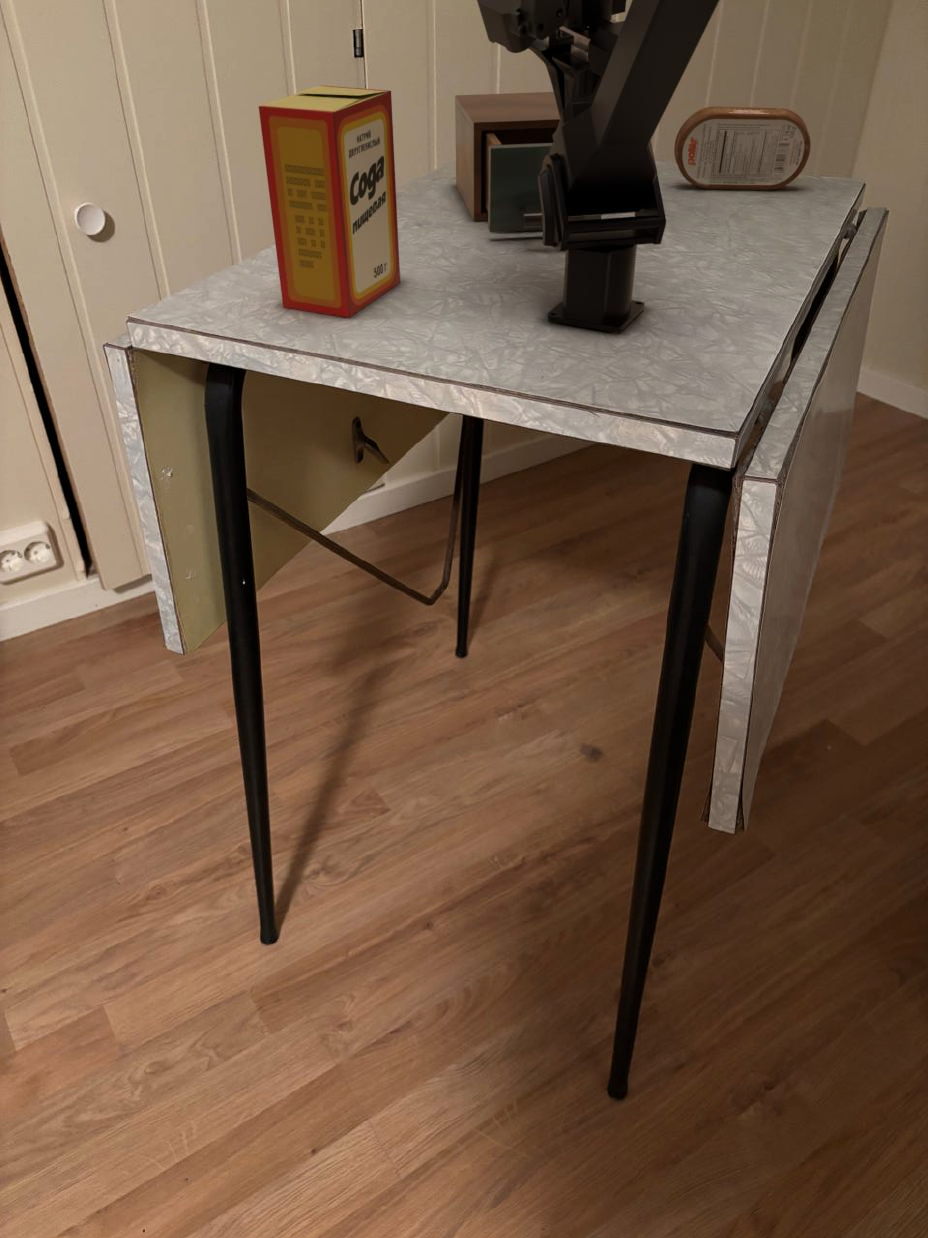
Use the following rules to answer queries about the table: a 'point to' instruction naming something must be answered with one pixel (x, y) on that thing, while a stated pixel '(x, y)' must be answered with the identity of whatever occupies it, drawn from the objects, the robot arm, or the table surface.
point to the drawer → (515, 177)
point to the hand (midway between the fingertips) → (571, 133)
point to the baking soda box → (332, 197)
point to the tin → (742, 147)
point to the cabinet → (493, 115)
